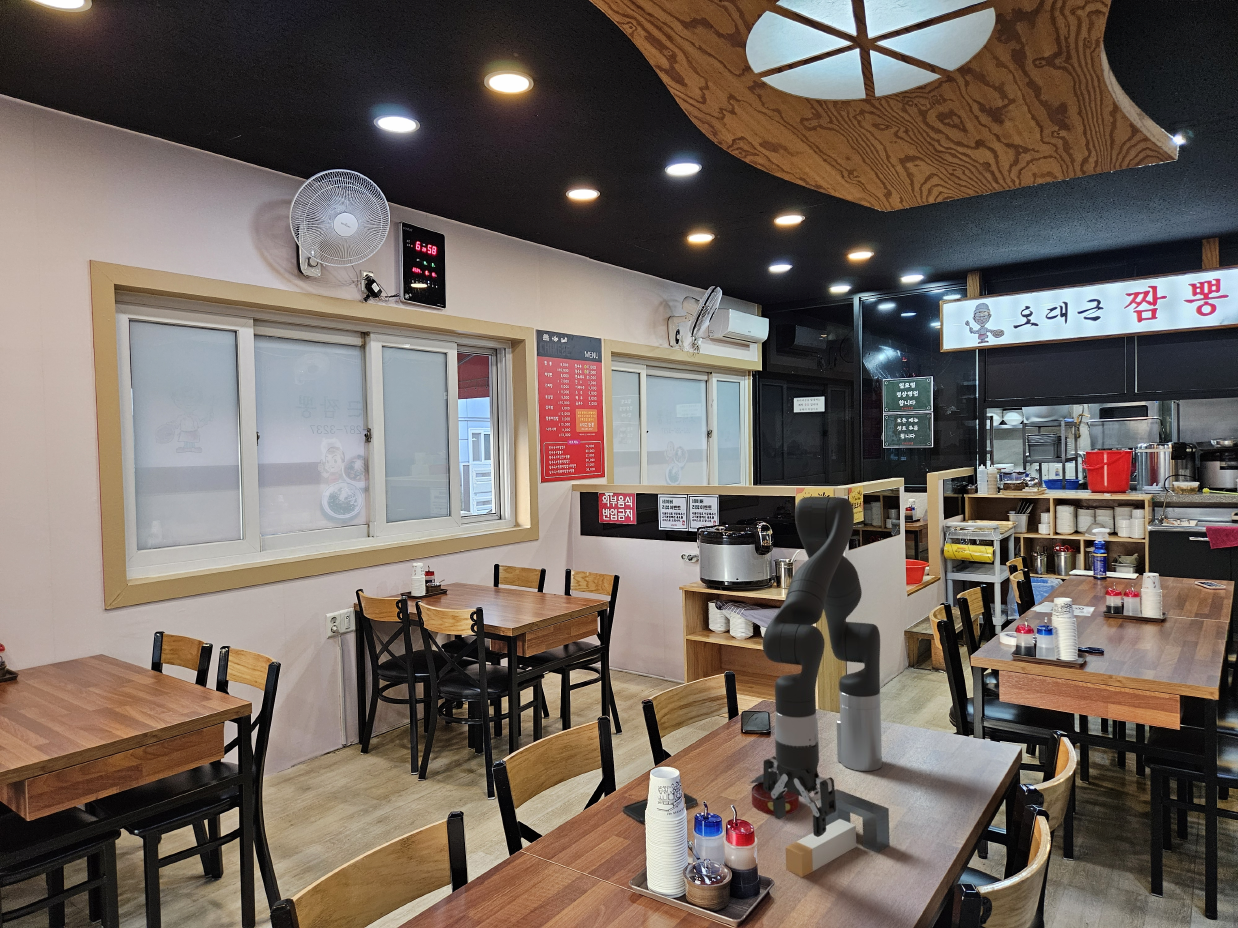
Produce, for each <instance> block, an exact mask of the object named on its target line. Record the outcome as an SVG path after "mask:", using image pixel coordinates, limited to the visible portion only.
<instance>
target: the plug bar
mask: <svg viewBox="0 0 1238 928" xmlns="http://www.w3.org/2000/svg"><path fill="white" fill-rule="evenodd" d="M856 829H857V827H856V824H853V823H852V822H851V823H849V822H846V821H844V820H841V819H839V820H837V821H835V822H833V823H831V824H829V825H827V826H826V832H825V833H824V834H823V835H821V836H819V837H816V836H814V834H813V832H812V833H810V834H808V835H806V836H804V837H803V838H801V839H799V840H797V841H795V842H793V843H791V844H789V845H787V846H785V870H787V871H789V872H791V873H793V874H795V875H796V876H798V877H800V878H803V877H805V876H808V875H809V874H810V873H812V872H814V871H816V870H818V869H819V868H822V867H823V866H825V865H826V864H828V863H829V862H830V863H831V862H832V861H833V860H835V859H837V858H838V857H840V856H842V855H844V854H845V853H847V852H849V851H850V850H852V849H854V848H856V847H857V830H856Z"/></svg>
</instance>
